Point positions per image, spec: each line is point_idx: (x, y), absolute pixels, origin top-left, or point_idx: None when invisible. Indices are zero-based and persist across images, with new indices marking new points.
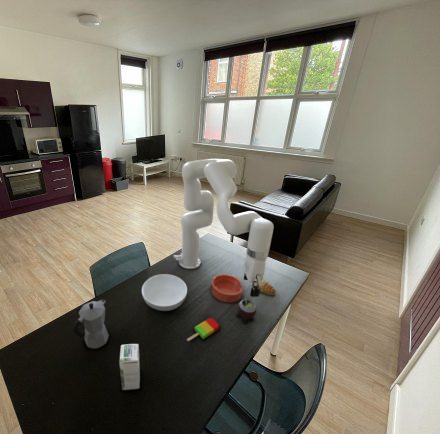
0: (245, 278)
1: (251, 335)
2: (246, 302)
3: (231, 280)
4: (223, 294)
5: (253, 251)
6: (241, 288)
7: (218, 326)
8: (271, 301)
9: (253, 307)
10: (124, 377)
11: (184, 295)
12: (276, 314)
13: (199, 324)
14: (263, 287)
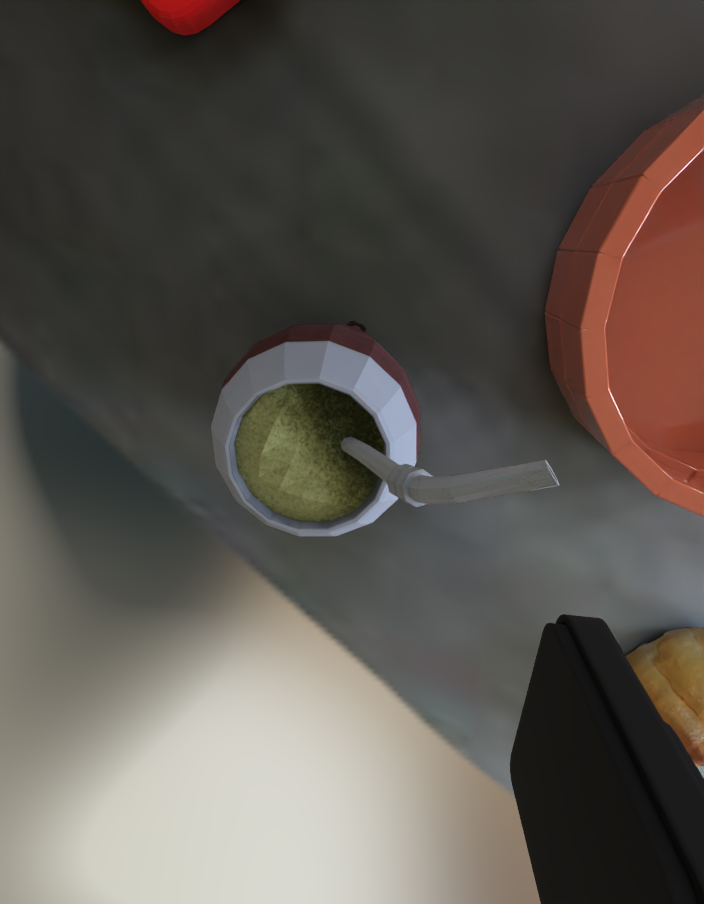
0: (560, 678)
1: (134, 376)
2: (346, 450)
3: None
4: (626, 190)
5: None
6: (677, 484)
7: (152, 8)
8: (506, 680)
9: (244, 504)
10: None
11: None
12: (361, 656)
13: None
14: (659, 705)
